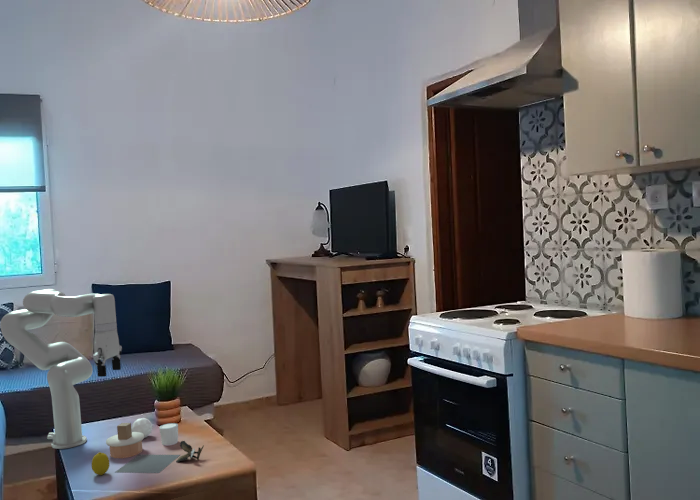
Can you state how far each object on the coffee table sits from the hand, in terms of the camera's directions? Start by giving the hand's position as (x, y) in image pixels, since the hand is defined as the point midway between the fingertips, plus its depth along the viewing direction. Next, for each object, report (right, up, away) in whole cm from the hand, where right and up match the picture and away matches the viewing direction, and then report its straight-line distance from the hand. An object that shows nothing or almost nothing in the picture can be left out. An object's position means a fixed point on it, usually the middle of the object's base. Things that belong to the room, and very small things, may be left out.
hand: (109, 373), depth 238 cm
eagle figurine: (+34, -27, -17) cm, 47 cm away
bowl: (+8, -28, -6) cm, 30 cm away
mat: (+20, -28, -18) cm, 39 cm away
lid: (+8, -23, -6) cm, 25 cm away
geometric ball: (+9, -28, +11) cm, 31 cm away
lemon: (+7, -29, -26) cm, 40 cm away
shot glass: (+22, -27, +2) cm, 35 cm away
